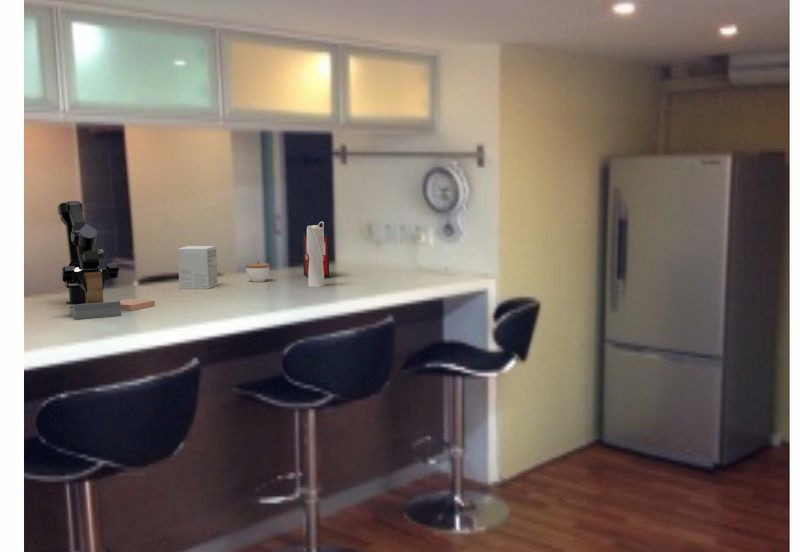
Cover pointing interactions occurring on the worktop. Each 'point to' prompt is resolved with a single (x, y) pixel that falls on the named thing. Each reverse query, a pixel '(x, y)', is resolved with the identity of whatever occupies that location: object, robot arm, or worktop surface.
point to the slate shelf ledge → (95, 310)
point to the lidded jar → (258, 271)
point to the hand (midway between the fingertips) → (94, 290)
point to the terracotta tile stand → (135, 304)
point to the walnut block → (93, 287)
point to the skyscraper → (315, 255)
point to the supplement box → (197, 267)
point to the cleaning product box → (324, 257)
